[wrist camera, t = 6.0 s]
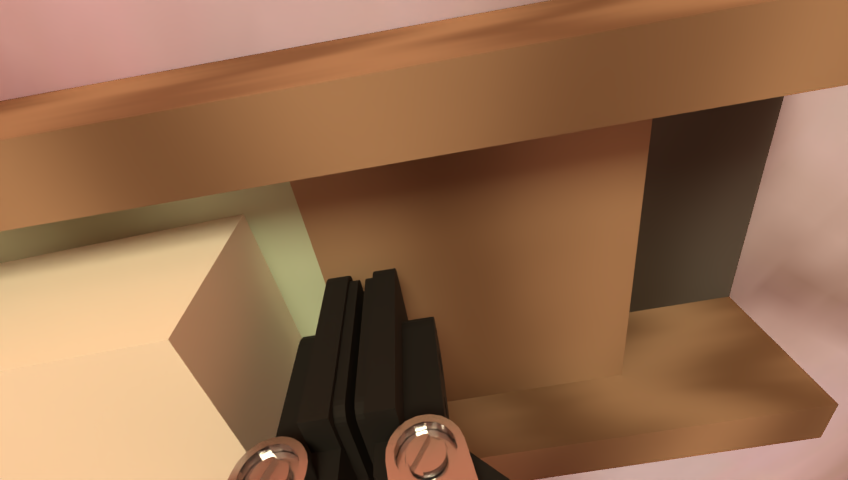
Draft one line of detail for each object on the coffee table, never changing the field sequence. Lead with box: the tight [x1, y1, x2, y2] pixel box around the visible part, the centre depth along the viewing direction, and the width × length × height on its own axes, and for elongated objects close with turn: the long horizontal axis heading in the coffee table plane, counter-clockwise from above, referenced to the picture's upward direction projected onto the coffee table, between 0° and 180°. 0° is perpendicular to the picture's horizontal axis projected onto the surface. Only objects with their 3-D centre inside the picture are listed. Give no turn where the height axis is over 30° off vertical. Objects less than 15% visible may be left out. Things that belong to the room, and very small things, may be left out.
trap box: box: [0, 0, 848, 480], centre depth 12 cm, size 28×12×5 cm, turn 99°
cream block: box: [0, 214, 302, 480], centre depth 10 cm, size 7×7×4 cm
